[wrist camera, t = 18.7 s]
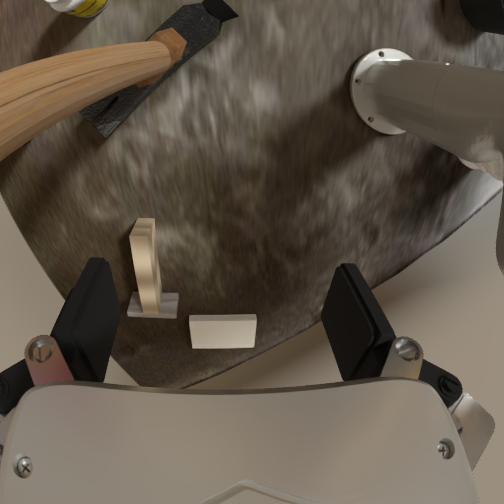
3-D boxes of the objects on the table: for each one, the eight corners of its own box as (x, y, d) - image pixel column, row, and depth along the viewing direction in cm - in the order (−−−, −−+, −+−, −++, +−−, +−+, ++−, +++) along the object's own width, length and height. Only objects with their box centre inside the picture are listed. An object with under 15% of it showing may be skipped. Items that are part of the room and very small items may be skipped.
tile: (256, 320, 52) (253, 347, 56) (255, 312, 53) (252, 339, 58) (188, 321, 50) (192, 348, 55) (189, 312, 52) (192, 340, 56)
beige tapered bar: (120, 218, 40) (110, 236, 36) (173, 218, 41) (168, 236, 37) (133, 295, 48) (128, 316, 44) (178, 297, 49) (176, 318, 45)
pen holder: (484, 43, 26) (527, 50, 18) (451, 5, 23) (495, 4, 15) (496, 12, 22) (535, 16, 14) (464, -25, 19) (504, -28, 11)
